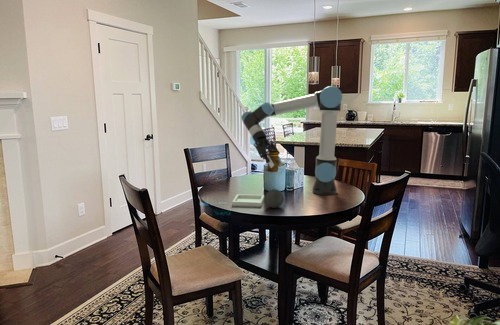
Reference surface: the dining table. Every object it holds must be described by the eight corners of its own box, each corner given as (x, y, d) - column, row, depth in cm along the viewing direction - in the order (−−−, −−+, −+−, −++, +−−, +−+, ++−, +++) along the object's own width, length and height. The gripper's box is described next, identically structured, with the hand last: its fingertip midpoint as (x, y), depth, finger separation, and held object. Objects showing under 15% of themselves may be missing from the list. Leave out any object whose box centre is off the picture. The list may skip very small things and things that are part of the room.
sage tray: (264, 199, 207) (264, 195, 206) (261, 207, 191) (261, 202, 191) (237, 198, 209) (237, 194, 209) (232, 206, 194) (232, 201, 193)
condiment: (281, 171, 198) (281, 150, 196) (269, 172, 194) (269, 151, 191) (273, 169, 204) (274, 148, 202) (261, 170, 200) (262, 149, 197)
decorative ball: (261, 208, 189) (261, 190, 187) (271, 203, 197) (271, 186, 196) (278, 211, 184) (278, 192, 182) (287, 206, 192) (287, 188, 190)
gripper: (266, 137, 214) (285, 167, 205) (242, 139, 202) (261, 171, 192) (272, 129, 209) (292, 160, 200) (248, 130, 197) (268, 163, 188)
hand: (277, 165), depth 196 cm, fingers closed on condiment, 6 cm apart
